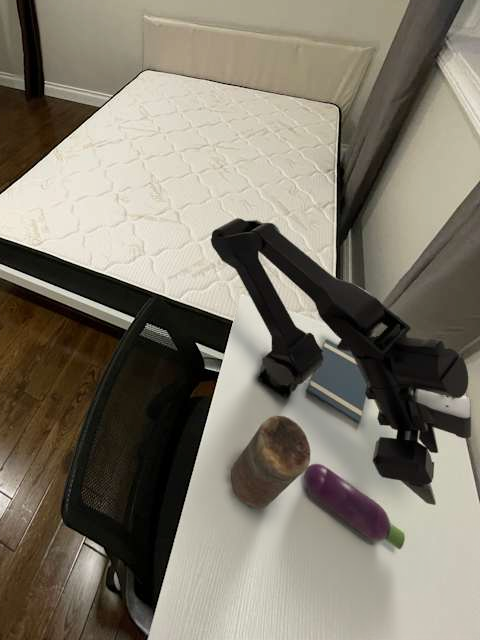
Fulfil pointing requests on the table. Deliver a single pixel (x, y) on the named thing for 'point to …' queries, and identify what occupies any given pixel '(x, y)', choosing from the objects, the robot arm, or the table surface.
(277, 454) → the brown textured cylinder
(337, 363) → the towel
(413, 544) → the table surface
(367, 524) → the eggplant
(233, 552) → the table surface
